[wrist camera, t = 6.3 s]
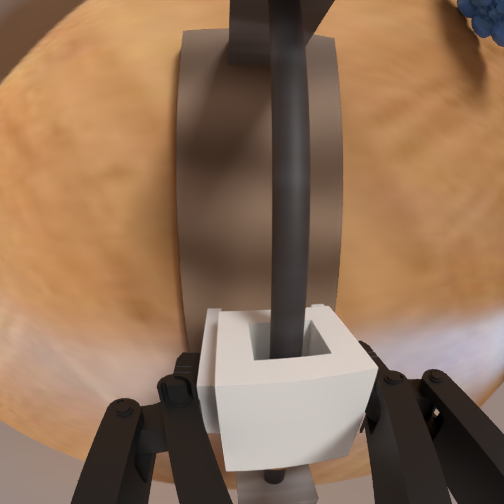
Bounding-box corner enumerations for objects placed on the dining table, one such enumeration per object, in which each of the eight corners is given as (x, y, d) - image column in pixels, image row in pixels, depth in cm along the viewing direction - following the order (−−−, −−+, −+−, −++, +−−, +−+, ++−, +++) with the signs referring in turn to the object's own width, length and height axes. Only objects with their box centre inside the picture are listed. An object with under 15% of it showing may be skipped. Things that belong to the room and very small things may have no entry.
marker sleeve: (218, 311, 12) (214, 386, 7) (328, 305, 12) (378, 367, 7) (224, 394, 13) (226, 471, 8) (317, 387, 13) (347, 455, 9)
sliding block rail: (186, 41, 14) (144, -106, 1) (327, 47, 15) (428, -66, 2) (202, 416, 21) (196, 550, 8) (312, 409, 22) (358, 530, 9)
